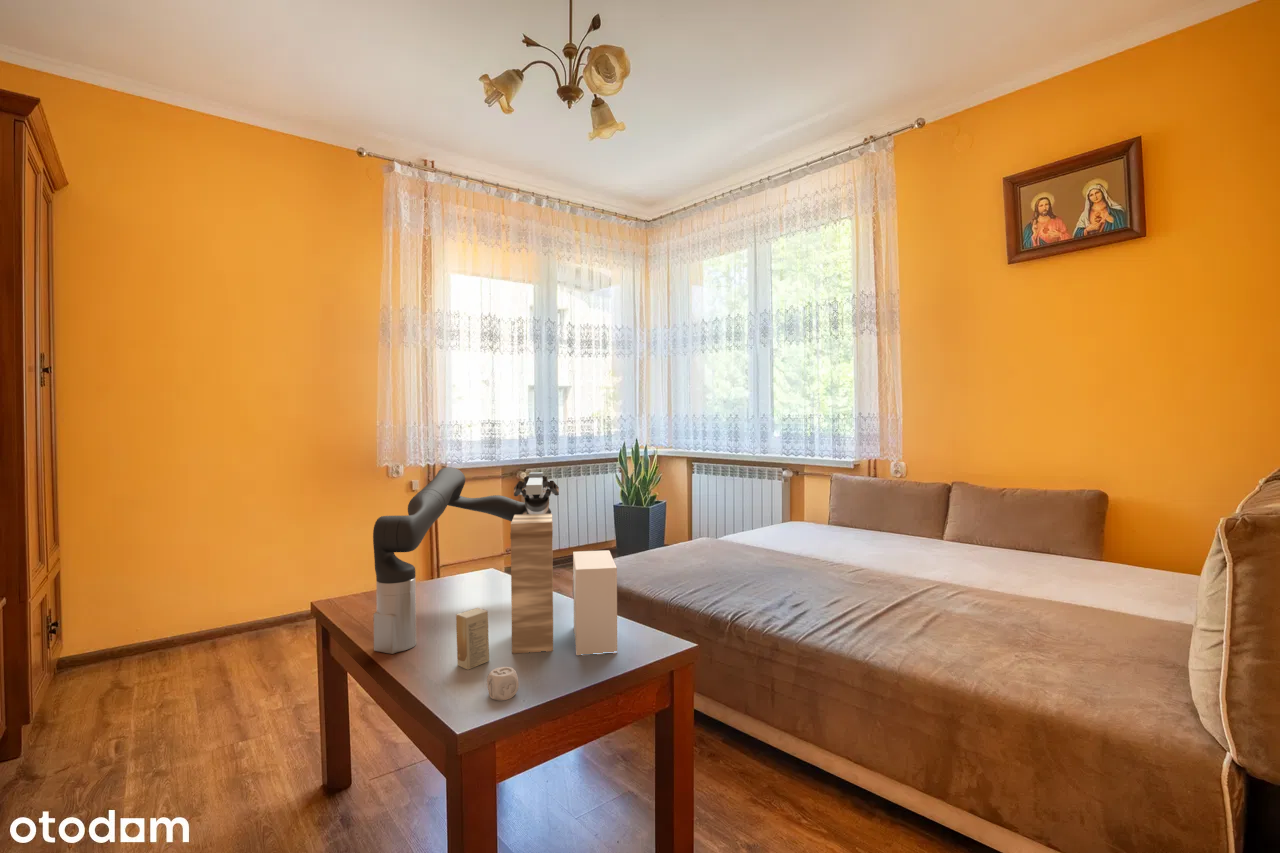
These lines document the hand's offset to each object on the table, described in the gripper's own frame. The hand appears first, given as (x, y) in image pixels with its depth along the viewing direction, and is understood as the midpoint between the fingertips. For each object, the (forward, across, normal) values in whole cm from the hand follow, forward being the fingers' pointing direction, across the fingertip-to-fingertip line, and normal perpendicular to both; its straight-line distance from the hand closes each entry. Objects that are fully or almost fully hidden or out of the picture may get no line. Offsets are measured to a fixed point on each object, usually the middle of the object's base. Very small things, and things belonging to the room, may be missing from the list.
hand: (535, 478), depth 171 cm
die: (+21, +6, -59) cm, 63 cm away
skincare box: (+5, +14, -50) cm, 52 cm away
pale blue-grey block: (+2, 0, -4) cm, 5 cm away
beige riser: (-4, -15, -45) cm, 47 cm away
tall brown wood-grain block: (-5, 0, -44) cm, 44 cm away
